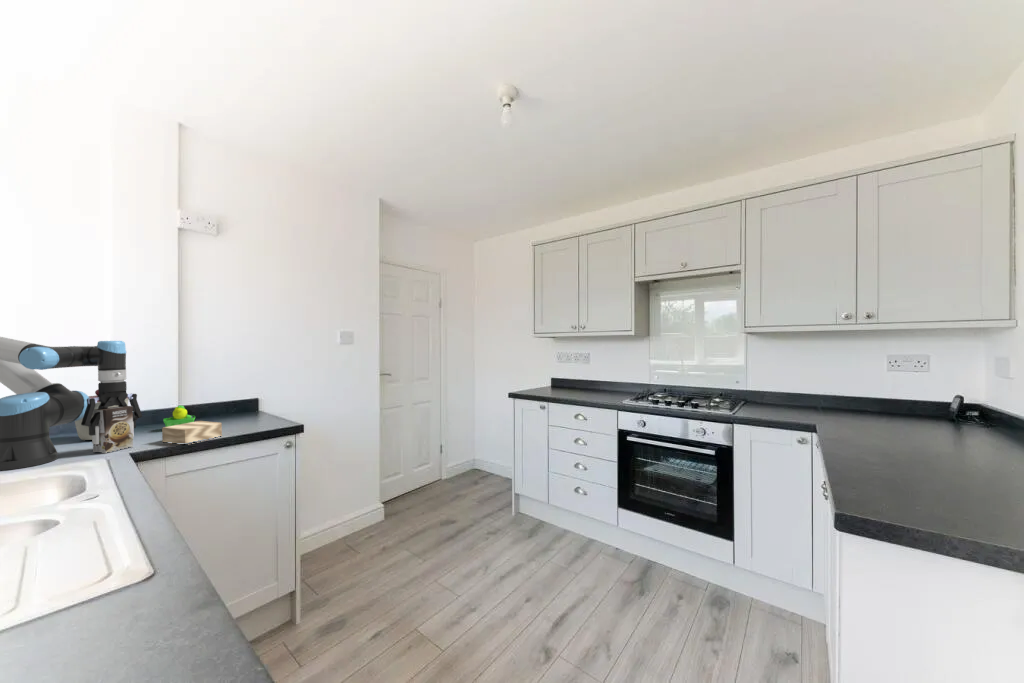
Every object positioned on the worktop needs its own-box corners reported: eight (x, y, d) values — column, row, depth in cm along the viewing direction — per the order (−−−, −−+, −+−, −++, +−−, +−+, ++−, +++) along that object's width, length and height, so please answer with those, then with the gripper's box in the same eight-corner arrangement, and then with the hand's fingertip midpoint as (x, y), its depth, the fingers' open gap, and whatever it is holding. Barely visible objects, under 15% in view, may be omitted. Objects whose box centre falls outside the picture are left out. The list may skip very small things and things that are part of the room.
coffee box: (105, 453, 145) (105, 409, 145) (92, 453, 146) (91, 409, 146) (134, 447, 154) (133, 405, 153) (121, 446, 155) (120, 405, 155)
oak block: (185, 445, 155) (184, 429, 155) (162, 442, 160) (162, 427, 160) (221, 436, 169) (221, 422, 169) (199, 434, 173) (199, 420, 173)
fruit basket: (195, 425, 193) (194, 402, 193) (195, 428, 186) (195, 404, 186) (163, 429, 185) (163, 405, 185) (163, 432, 178) (162, 407, 178)
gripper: (78, 384, 138) (79, 449, 138) (153, 378, 159) (154, 434, 159) (66, 384, 140) (67, 447, 141) (142, 378, 161) (143, 433, 161)
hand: (113, 440), depth 150 cm, fingers closed on coffee box, 9 cm apart
